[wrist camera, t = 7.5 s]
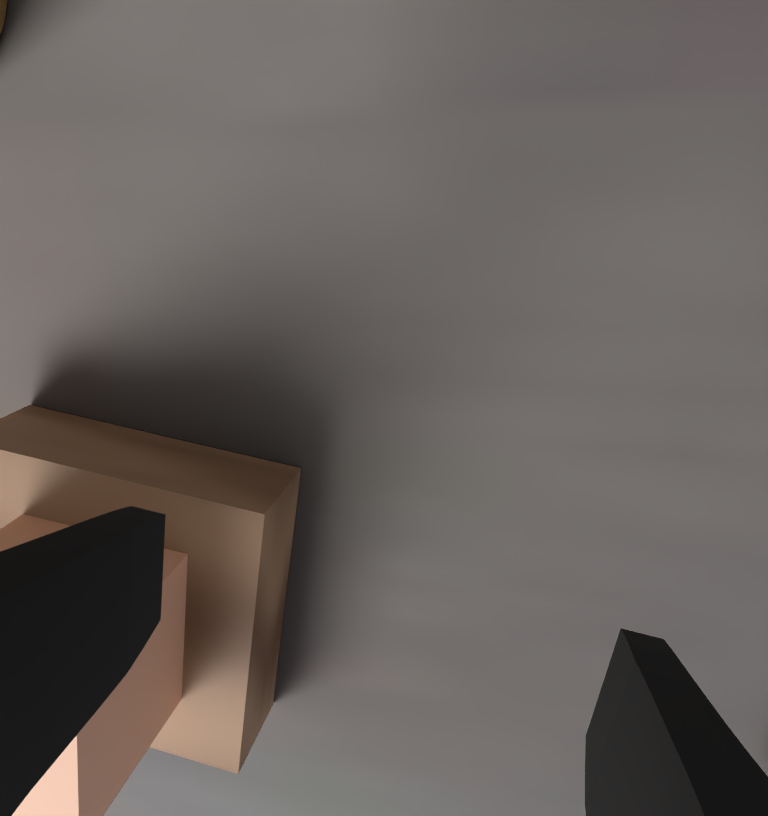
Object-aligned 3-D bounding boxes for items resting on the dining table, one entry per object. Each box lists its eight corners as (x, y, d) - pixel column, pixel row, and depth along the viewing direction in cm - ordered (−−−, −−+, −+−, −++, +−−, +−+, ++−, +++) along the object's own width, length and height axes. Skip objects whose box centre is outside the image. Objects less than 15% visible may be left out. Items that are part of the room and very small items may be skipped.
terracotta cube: (181, 699, 21) (79, 850, 16) (30, 657, 22) (-109, 790, 17) (187, 554, 19) (75, 677, 15) (23, 513, 20) (-134, 619, 15)
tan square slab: (272, 704, 24) (238, 773, 22) (36, 636, 26) (-25, 694, 23) (301, 468, 21) (264, 514, 18) (29, 404, 22) (-43, 438, 20)
